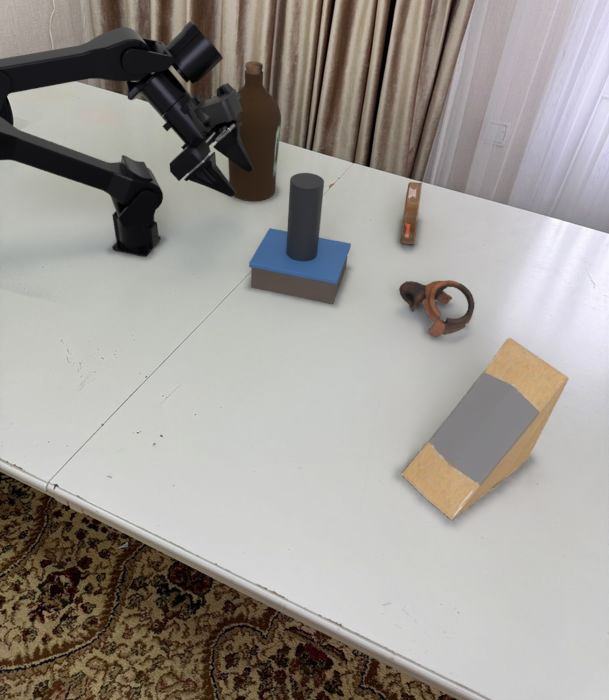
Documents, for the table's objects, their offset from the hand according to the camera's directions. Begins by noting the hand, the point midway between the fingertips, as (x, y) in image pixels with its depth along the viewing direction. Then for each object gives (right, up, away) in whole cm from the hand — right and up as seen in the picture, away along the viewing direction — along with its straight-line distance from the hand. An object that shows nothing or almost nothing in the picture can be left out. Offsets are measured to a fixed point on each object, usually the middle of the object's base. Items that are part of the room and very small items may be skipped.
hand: (242, 182), depth 102 cm
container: (+9, -15, +4) cm, 18 cm away
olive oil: (-1, +5, +27) cm, 27 cm away
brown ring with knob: (+31, -23, -2) cm, 38 cm away
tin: (+30, -5, +19) cm, 36 cm away
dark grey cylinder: (+10, -11, +1) cm, 15 cm away
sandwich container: (+30, -42, -24) cm, 57 cm away
